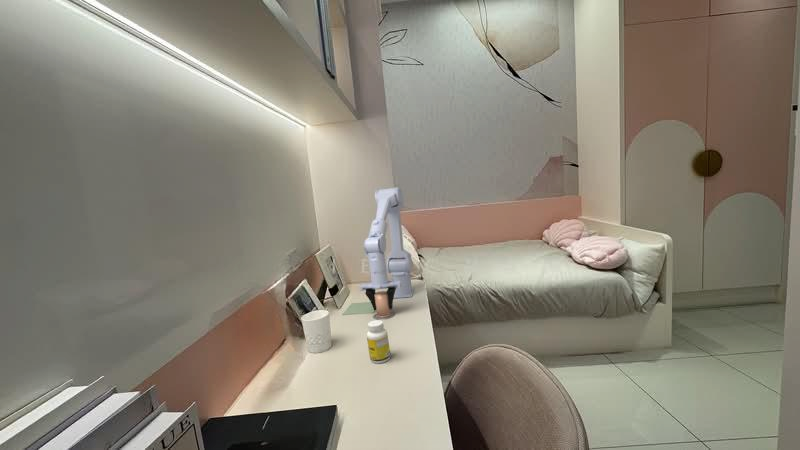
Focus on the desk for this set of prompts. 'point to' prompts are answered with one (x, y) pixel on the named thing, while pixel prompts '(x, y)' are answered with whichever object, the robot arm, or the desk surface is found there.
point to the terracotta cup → (382, 304)
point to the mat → (359, 308)
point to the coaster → (384, 318)
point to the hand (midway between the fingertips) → (383, 308)
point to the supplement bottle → (378, 342)
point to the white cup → (317, 331)
